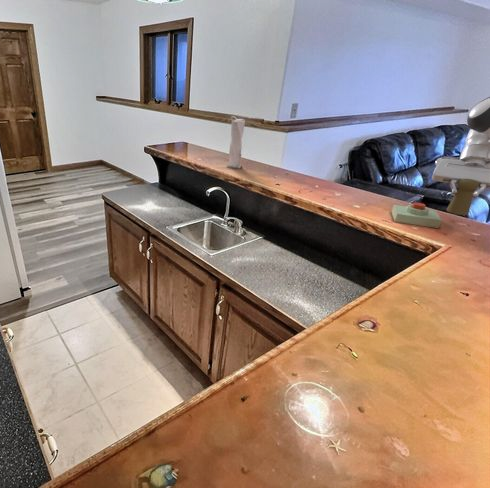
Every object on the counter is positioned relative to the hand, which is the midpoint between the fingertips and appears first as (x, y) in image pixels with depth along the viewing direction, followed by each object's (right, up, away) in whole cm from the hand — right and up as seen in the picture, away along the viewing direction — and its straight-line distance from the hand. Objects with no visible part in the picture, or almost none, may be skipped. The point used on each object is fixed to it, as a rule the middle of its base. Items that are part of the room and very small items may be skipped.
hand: (464, 195), depth 114 cm
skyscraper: (-58, +30, +92) cm, 112 cm away
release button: (-2, -2, +18) cm, 19 cm away
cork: (0, -5, +3) cm, 6 cm away
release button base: (-2, -7, +20) cm, 21 cm away
